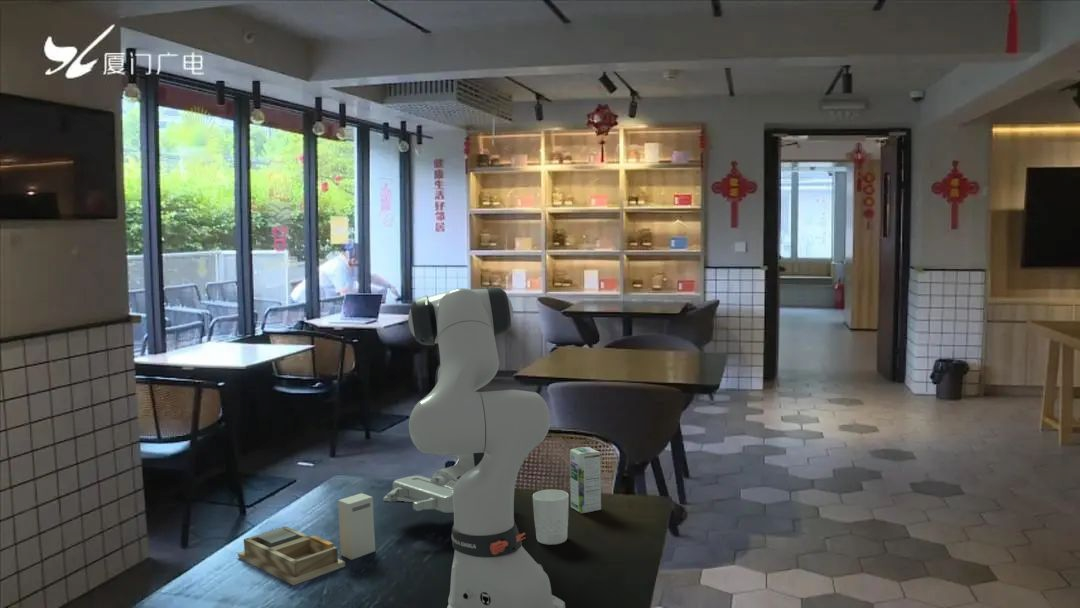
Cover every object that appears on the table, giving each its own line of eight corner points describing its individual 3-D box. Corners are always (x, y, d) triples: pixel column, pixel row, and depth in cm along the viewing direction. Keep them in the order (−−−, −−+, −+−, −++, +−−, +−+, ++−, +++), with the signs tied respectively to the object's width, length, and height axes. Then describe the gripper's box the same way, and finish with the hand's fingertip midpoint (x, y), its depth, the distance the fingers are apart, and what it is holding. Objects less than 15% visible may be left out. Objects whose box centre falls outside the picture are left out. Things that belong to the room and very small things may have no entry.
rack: (345, 566, 178) (344, 544, 177) (293, 585, 169) (291, 562, 169) (288, 541, 193) (287, 521, 192) (238, 557, 184) (236, 536, 184)
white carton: (375, 551, 186) (372, 496, 185) (351, 559, 181) (349, 504, 180) (364, 546, 189) (361, 493, 187) (340, 554, 184) (337, 500, 183)
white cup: (527, 542, 188) (526, 498, 187) (544, 530, 195) (542, 487, 194) (559, 548, 184) (558, 502, 183) (575, 535, 191) (574, 491, 190)
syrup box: (569, 507, 210) (568, 449, 209) (591, 503, 213) (589, 445, 211) (580, 514, 205) (579, 454, 204) (602, 510, 208) (601, 451, 206)
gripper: (419, 465, 210) (373, 479, 200) (477, 482, 196) (430, 498, 186) (420, 491, 211) (374, 506, 201) (478, 509, 197) (431, 526, 187)
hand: (401, 502), depth 193 cm, fingers open, 8 cm apart
